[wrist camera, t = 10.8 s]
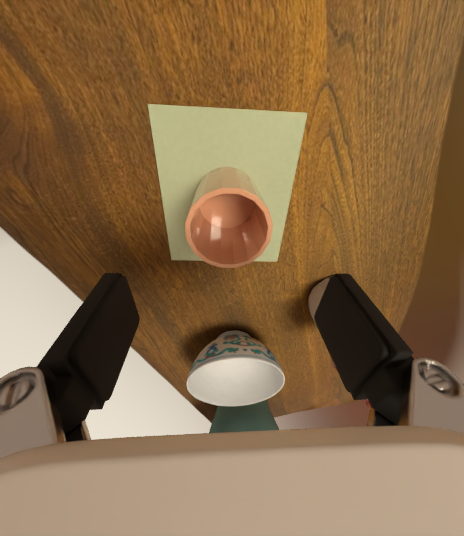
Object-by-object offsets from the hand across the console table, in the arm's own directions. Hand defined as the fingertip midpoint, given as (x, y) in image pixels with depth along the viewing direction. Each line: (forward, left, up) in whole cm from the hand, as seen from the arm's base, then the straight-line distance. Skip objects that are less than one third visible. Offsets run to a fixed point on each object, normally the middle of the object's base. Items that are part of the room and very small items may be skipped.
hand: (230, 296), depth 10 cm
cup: (0, 0, -16) cm, 16 cm away
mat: (0, 0, -16) cm, 16 cm away
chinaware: (+26, +2, -16) cm, 31 cm away
